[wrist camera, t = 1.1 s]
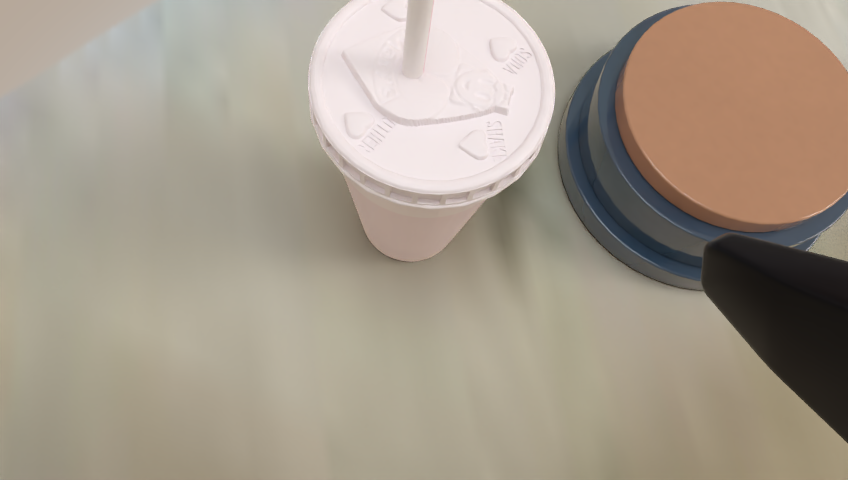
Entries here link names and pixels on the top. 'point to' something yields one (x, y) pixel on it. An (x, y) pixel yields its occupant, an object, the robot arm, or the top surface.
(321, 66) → the smoothie
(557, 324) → the top surface
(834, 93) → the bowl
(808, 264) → the robot arm
